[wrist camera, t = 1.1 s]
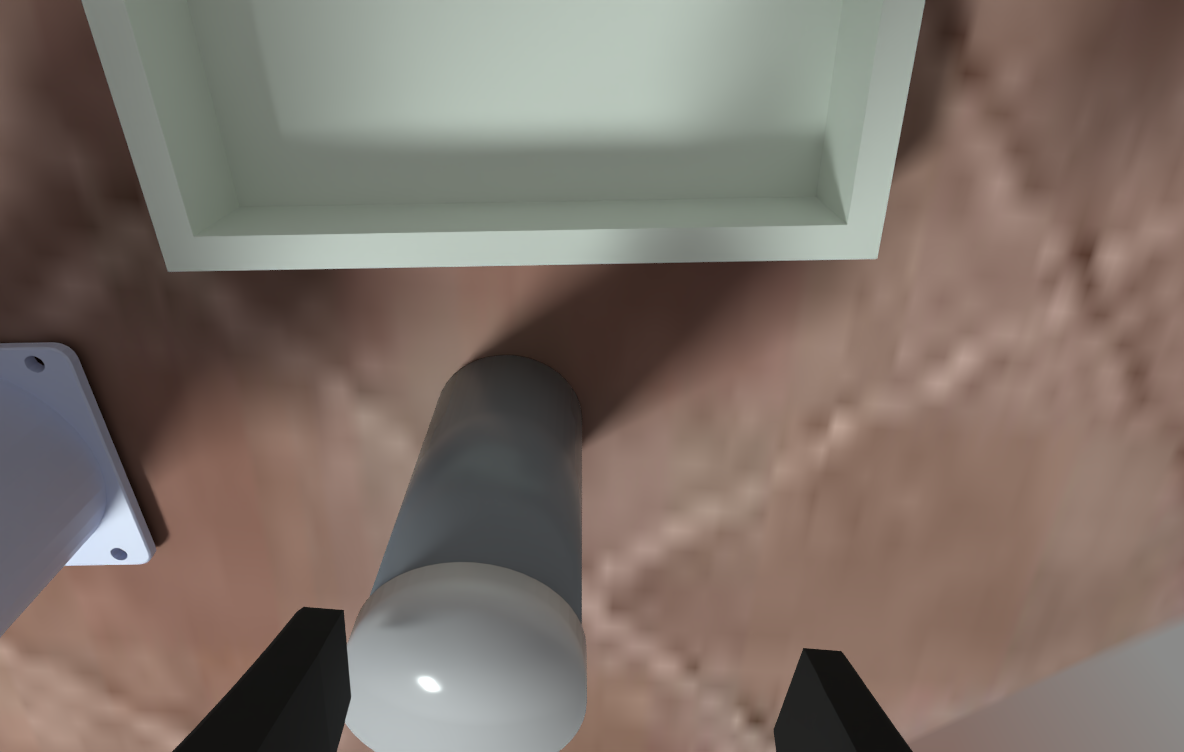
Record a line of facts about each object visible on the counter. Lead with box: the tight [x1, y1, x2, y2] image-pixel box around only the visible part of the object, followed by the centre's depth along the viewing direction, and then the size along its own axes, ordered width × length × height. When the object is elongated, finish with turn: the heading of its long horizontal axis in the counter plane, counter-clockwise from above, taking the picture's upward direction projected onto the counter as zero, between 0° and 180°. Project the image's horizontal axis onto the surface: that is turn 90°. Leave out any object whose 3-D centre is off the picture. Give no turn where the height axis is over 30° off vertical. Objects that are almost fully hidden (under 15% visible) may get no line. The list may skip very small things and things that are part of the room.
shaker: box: [345, 355, 587, 752], centre depth 17 cm, size 5×5×10 cm
